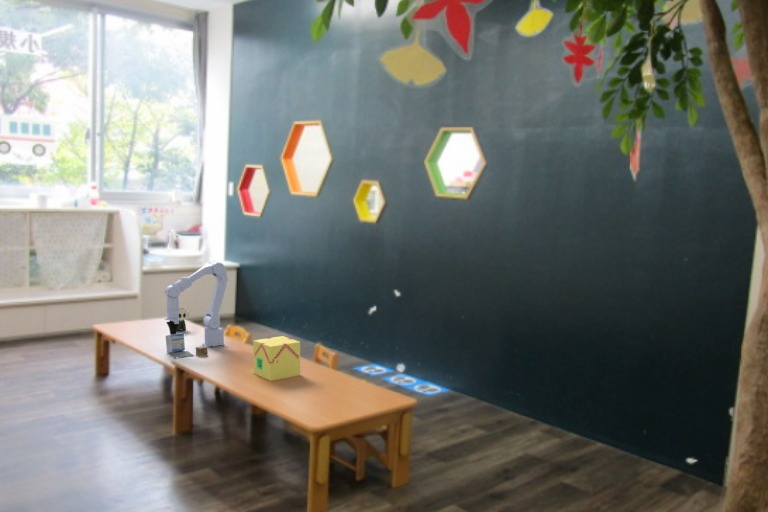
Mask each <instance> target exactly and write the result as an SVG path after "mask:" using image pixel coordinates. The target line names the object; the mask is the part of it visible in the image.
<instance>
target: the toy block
mask: <svg viewBox="0 0 768 512" xmlns="http://www.w3.org/2000/svg"><path fill="white" fill-rule="evenodd" d="M252 343H253V345H252V346H253V347H252V348H253V349H252V351H253V354H252V355H253V361H252V362H253V368H252V369H253V374H255V375H257V376H260V377H261V378H263V379H266V380H268V381H271V382H272V381H277V380H282V379H287V378H292V377H297V376H301V358H300V357H301V341H298V340H295V339H293V338H292V339H291V338H289V337H286V336H284V335H281V336H274V337H273V336H272V337H270V338H260V339H254V340H252Z"/></svg>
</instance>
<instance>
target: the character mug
mask: <svg viewBox="0 0 768 512" xmlns="http://www.w3.org/2000/svg"><path fill="white" fill-rule="evenodd" d="M187 317H190V310H187V307H179V322H180V323H179V325H178V328H177V332H180V331H186V330H187V324H186V321H185V320H186V319H187Z"/></svg>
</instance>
